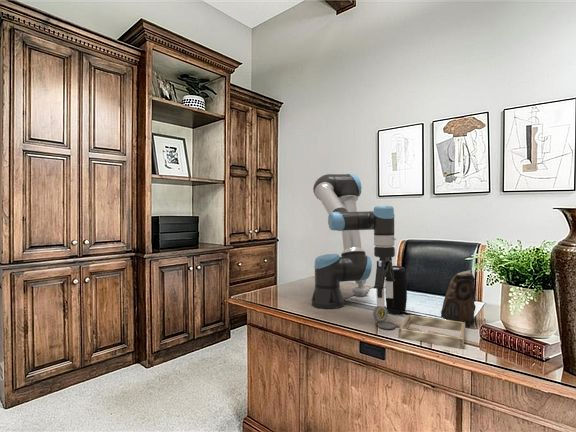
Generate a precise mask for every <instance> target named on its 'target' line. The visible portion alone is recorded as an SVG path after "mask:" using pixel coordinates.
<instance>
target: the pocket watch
mask: <svg viewBox="0 0 576 432" xmlns="http://www.w3.org/2000/svg"><path fill="white" fill-rule="evenodd" d="M372 312H373V313H372V316H373V319H374V320H375V321H376V322H377V326H378V327H379V328H380V329H382V330H393V329H395V328H396V327H397V325H396V324H395V323H394V322H390V321H386V320H387V317H388V315H389V311H388V310H387V307H386V306H385V307H381V306H377V305H376V307H375V308H374V309H373V311H372Z"/></svg>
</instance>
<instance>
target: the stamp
mask: <svg viewBox="0 0 576 432" xmlns="http://www.w3.org/2000/svg"><path fill="white" fill-rule="evenodd" d="M354 282H355V284H356V285H358V286H356V287H353V288H352V290H351V291H352V293H353V294H354V295H355V296H358V297H365V296H367V295H369V293H370V291H371V290H370V288H369V287H367V286H365V287H364V285H366V282H367V279H366V280H361V281H354Z"/></svg>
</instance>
